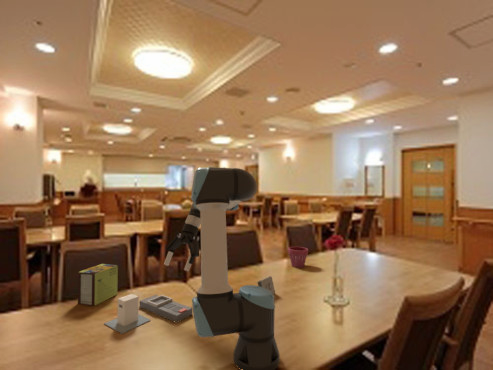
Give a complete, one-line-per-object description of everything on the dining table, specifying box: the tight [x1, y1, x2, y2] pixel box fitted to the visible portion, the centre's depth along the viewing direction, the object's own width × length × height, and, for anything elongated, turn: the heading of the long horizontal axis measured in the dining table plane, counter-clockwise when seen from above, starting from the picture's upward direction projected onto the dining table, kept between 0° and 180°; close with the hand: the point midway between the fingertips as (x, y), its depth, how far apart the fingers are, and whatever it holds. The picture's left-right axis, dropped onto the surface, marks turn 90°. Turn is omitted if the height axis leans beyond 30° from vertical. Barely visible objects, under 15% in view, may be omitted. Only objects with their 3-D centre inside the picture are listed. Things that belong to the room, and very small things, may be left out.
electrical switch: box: [257, 275, 276, 295], centre depth 145 cm, size 9×5×9 cm, turn 141°
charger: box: [116, 293, 140, 326], centre depth 114 cm, size 5×7×10 cm
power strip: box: [139, 294, 193, 323], centre depth 125 cm, size 26×9×4 cm, turn 55°
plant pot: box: [287, 246, 309, 269], centre depth 199 cm, size 14×14×13 cm
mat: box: [104, 313, 151, 335], centre depth 114 cm, size 13×13×1 cm
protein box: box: [77, 263, 119, 307], centre depth 138 cm, size 10×15×16 cm
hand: (175, 267), depth 128 cm, fingers open, 13 cm apart
